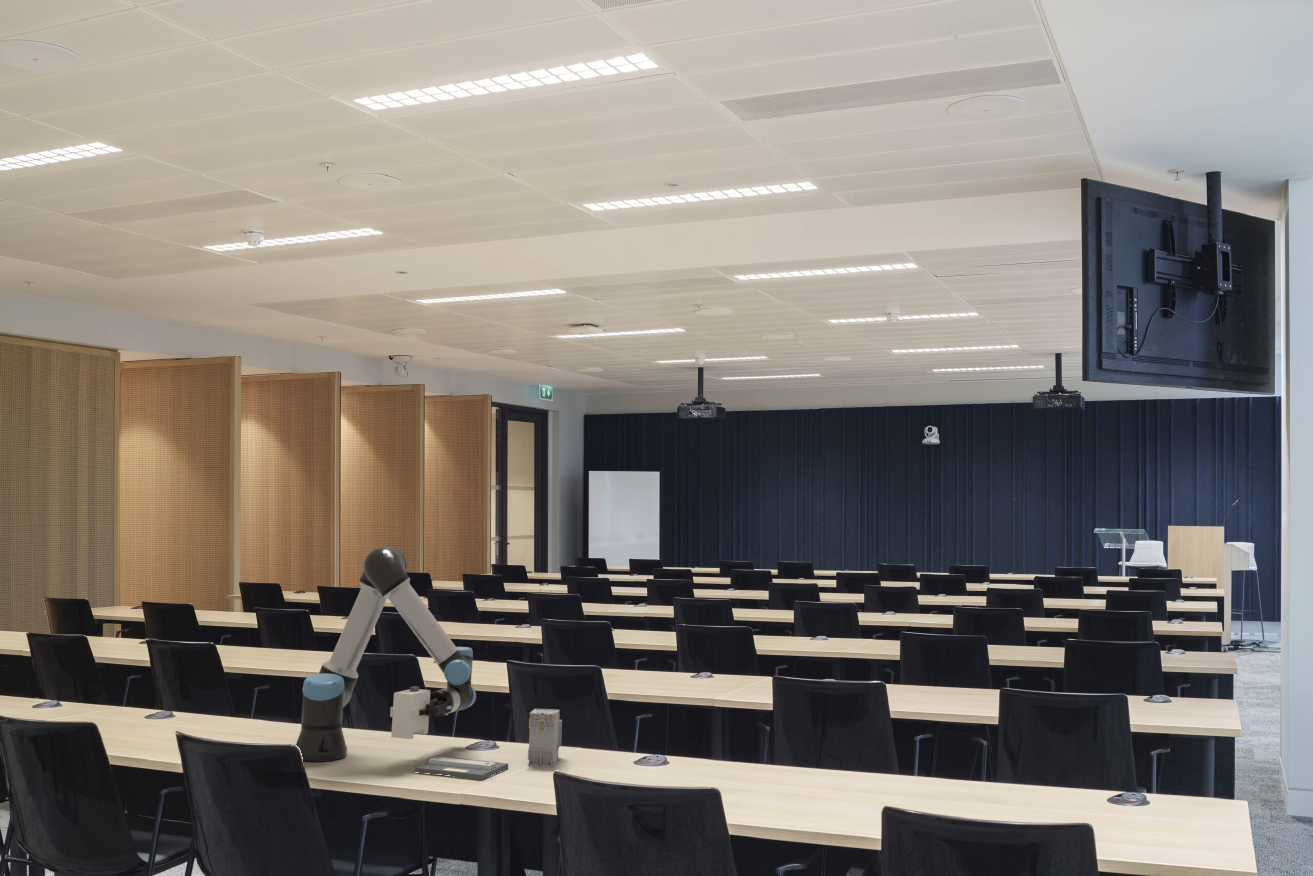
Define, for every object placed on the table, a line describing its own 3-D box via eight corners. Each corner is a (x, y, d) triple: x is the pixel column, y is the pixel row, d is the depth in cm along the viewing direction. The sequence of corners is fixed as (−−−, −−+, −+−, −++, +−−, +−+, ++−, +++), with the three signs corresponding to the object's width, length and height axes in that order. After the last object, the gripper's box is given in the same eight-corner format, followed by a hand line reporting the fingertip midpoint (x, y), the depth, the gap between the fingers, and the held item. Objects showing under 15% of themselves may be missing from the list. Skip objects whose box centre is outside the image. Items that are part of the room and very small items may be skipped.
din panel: (414, 773, 306) (415, 762, 306) (443, 761, 321) (444, 751, 321) (481, 780, 299) (482, 769, 300) (508, 768, 314) (508, 758, 315)
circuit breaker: (561, 756, 333) (563, 706, 334) (552, 766, 319) (554, 714, 320) (537, 755, 334) (539, 705, 335) (527, 765, 320) (529, 713, 321)
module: (391, 737, 313) (394, 688, 314) (410, 731, 322) (412, 684, 323) (409, 739, 311) (412, 690, 312) (427, 733, 320) (430, 686, 322)
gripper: (469, 717, 331) (430, 729, 309) (414, 711, 337) (372, 723, 315) (471, 692, 331) (431, 702, 310) (416, 687, 338) (373, 696, 316)
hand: (401, 713), depth 312 cm, fingers closed on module, 6 cm apart
